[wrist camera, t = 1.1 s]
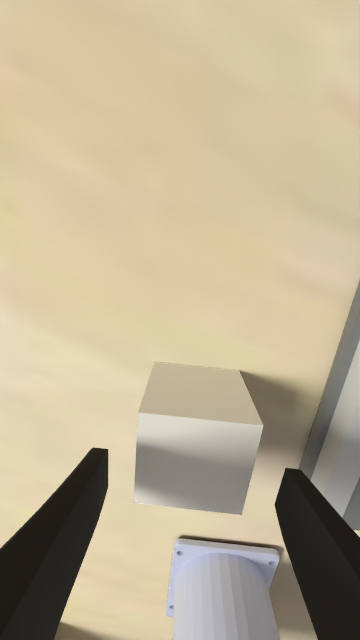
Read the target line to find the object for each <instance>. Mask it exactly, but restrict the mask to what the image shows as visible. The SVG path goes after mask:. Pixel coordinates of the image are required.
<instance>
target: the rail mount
mask: <svg viewBox="0 0 360 640" xmlns="http://www.w3.org/2000/svg"><path fill="white" fill-rule="evenodd" d="M299 470H302V472H303V473H304V474H305V475H306V476H307V477H308V478H309V480H310V481H311V482H312V483H313V484H314V485H315V487H316V488H317V489H318V490H319V491H320V493H321V494H322V495H323V496H324V497H325V498H326V500H327V501H328V502H329V503H330V504H331V505H332V507H333V508H334V509H335V510H336V511H337V512H338V514H339V515H340V516H341V517H342V518H343V519H344V520H345V522H346V523H347V524H348V525H349V526H350V527H351V528H352V530H360V281H359V285H358V288H357V291H356V294H355V297H354V300H353V303H352V306H351V309H350V312H349V316H348V319H347V322H346V325H345V328H344V331H343V334H342V337H341V340H340V343H339V347H338V350H337V353H336V356H335V359H334V362H333V365H332V368H331V371H330V374H329V378H328V381H327V384H326V387H325V390H324V393H323V396H322V399H321V402H320V405H319V409H318V412H317V415H316V418H315V421H314V424H313V427H312V430H311V433H310V436H309V440H308V443H307V446H306V449H305V452H304V455H303V458H302V461H301V464H300V467H299Z"/></svg>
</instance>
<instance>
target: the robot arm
mask: <svg viewBox="0 0 360 640" xmlns="http://www.w3.org/2000/svg"><path fill="white" fill-rule="evenodd" d="M107 489H108V449H101V448H92V449H91V450H90V451H89V452H88V453H87V455H86V456H85V457H84V458H83V460H82V461H81V462H80V463H79V464H78V466H77V467H76V468H75V469H74V470H73V472H72V473H71V474H70V475H69V476H68V477H67V479H66V480H65V481H64V482H63V483H62V484H61V485H60V487H59V488H58V489H57V490H56V491H55V492H54V493H53V494H52V495H51V497H50V498H49V499H48V500H47V501H46V502H45V503H44V504H43V505H42V506H41V508H40V509H39V510H38V511H37V512H36V513H35V514H34V515H33V516H32V517H31V518H30V519H29V520H28V521H27V522H26V523H25V524H24V525H23V526H22V527H21V528H20V529H19V530H18V531H17V532H16V533H15V534H14V535H13V536H12V537H11V538H10V539H9V540H8V541H7V542H6V543H5V544H4V545H3V546H2V547H1V548H0V640H54V637H55V634H56V631H57V628H58V625H59V622H60V620H61V617H62V614H63V611H64V608H65V606H66V603H67V600H68V598H69V595H70V593H71V590H72V587H73V585H74V582H75V580H76V577H77V574H78V572H79V569H80V567H81V564H82V561H83V559H84V556H85V554H86V551H87V548H88V546H89V543H90V541H91V538H92V535H93V533H94V530H95V528H96V525H97V522H98V520H99V516H100V513H101V510H102V506H103V503H104V499H105V496H106V492H107ZM275 508H276V513H277V517H278V521H279V525H280V529H281V533H282V536H283V540H284V543H285V546H286V549H287V552H288V555H289V558H290V560H291V563H292V566H293V569H294V572H295V575H296V578H297V581H298V584H299V586H300V589H301V592H302V595H303V598H304V601H305V604H306V606H307V609H308V612H309V615H310V618H311V621H312V624H313V626H314V629H315V632H316V635H317V638H318V640H360V537H359V536H358V535H357V534H356V533H355V532H354V531H353V530H352V528H351V527H350V526H349V525H348V524H347V523H346V522H345V520H344V519H343V518H342V517H341V516H340V515H339V514H338V512H337V511H336V510H335V509H334V508H333V507H332V505H331V504H330V503H329V502H328V501H327V500H326V498H325V497H324V496H323V495H322V494H321V493H320V491H319V490H318V489H317V488H316V487H315V485H314V484H313V483H312V482H311V481H310V480H309V478H308V477H307V476H306V475H305V474H304V473H303V472H302V470H299V469H290V468H286V469H285V472H284V475H283V479H282V482H281V485H280V488H279V492H278V495H277V498H276V502H275ZM279 560H280V556H279V553H278V551H277V550H275V549H272V548H263V547H254V546H245V545H236V544H227V543H218V542H209V541H200V540H191V539H182V538H179V539H177V540H175V542H174V549H173V557H172V565H171V572H170V580H169V588H168V596H167V603H166V615H167V616H169V617H174V624H173V640H280V636H279V632H278V628H277V623H276V619H275V615H274V611H273V607H272V603H271V598H270V594H269V589H270V586H271V583H272V580H273V578H274V575H275V572H276V569H277V566H278V563H279Z"/></svg>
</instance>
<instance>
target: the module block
mask: <svg viewBox="0 0 360 640" xmlns="http://www.w3.org/2000/svg"><path fill="white" fill-rule="evenodd" d="M262 430H263V423H262V421H261V419H260V417H259V414H258V412H257V410H256V408H255V405H254V403H253V401H252V399H251V396H250V394H249V392H248V390H247V387H246V385H245V383H244V381H243V378H242V376H241V374H240V372H239V370H231V369H222V368H212V367H202V366H193V365H183V364H173V363H164V362H154V365H153V368H152V371H151V374H150V377H149V381H148V384H147V387H146V390H145V393H144V396H143V399H142V402H141V405H140V408H139V411H138V426H137V447H136V467H135V488H134V503H139V504H148V505H158V506H167V507H176V508H185V509H194V510H203V511H212V512H221V513H230V514H239V515H242V511H243V507H244V503H245V499H246V495H247V491H248V487H249V483H250V479H251V475H252V471H253V467H254V463H255V458H256V454H257V450H258V446H259V442H260V438H261V434H262Z"/></svg>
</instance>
